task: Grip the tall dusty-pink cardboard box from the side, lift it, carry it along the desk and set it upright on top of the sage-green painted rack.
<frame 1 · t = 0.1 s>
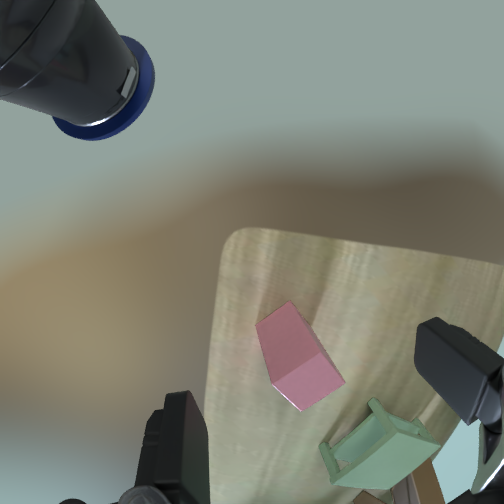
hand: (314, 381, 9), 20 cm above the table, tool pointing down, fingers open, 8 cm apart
photo frame: (384, 477, 44), on the table
rack: (373, 433, 38), on the table
pink box: (284, 326, 31), on the table
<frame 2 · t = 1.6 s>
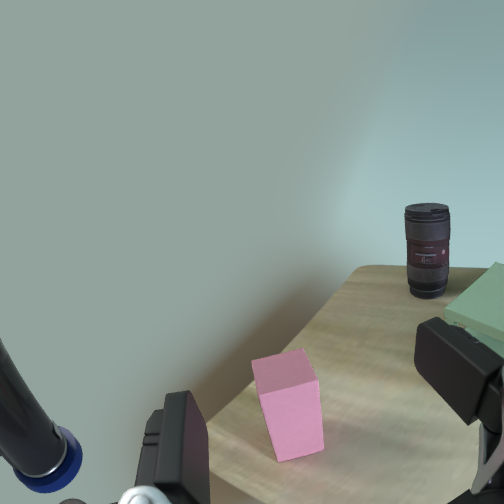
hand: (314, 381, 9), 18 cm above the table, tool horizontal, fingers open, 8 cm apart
rack: (499, 348, 26), on the table
camera lens: (427, 291, 45), on the table
pink box: (296, 440, 24), on the table
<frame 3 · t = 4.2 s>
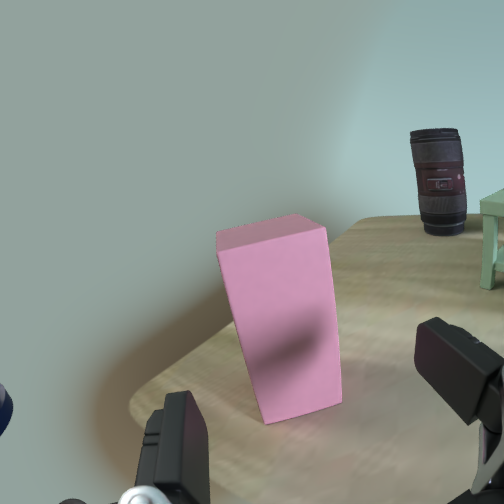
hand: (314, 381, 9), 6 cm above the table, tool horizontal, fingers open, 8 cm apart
camera lens: (444, 231, 37), on the table
pink box: (294, 390, 16), on the table
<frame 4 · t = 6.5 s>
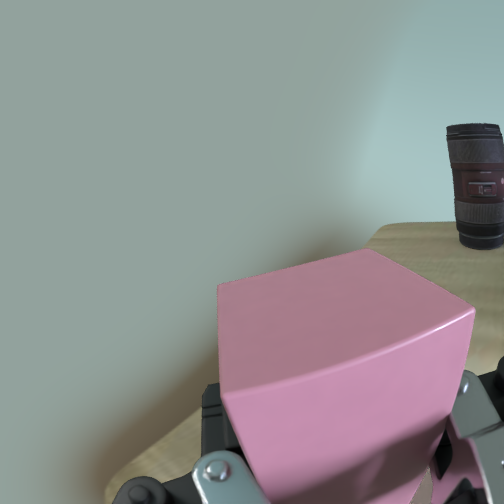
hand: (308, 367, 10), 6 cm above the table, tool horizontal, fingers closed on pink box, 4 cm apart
camera lens: (481, 242, 30), on the table
pink box: (335, 497, 9), on the table, touching gripper
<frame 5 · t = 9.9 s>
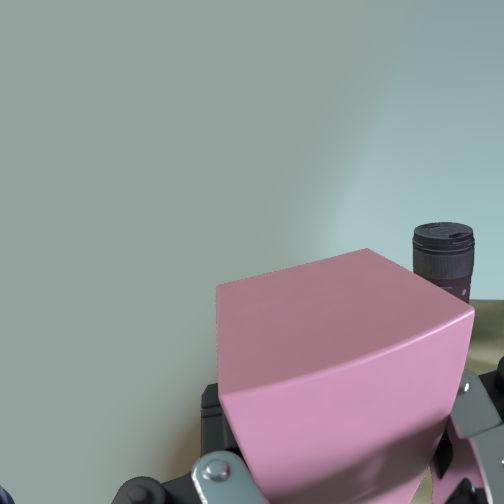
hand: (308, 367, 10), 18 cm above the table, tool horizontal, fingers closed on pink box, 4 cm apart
camera lens: (437, 337, 33), on the table
pink box: (335, 498, 9), point 12 cm above the table, touching gripper
when the fingers open (14 cm above the table, at t = 13.5 s): pink box stays where it is, resting on rack.
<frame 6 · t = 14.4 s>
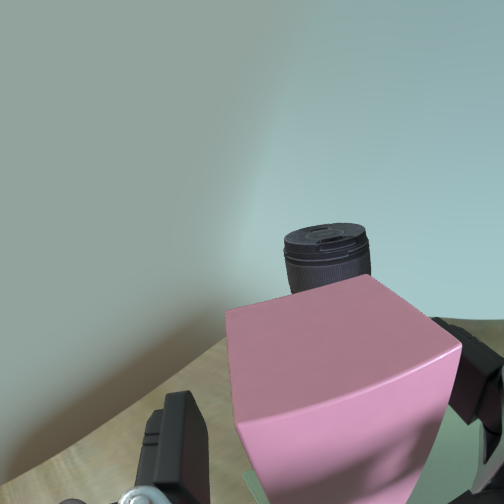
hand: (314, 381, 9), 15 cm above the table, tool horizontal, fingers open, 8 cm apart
camera lens: (338, 362, 31), on the table
pink box: (334, 501, 9), point 8 cm above the table, touching rack
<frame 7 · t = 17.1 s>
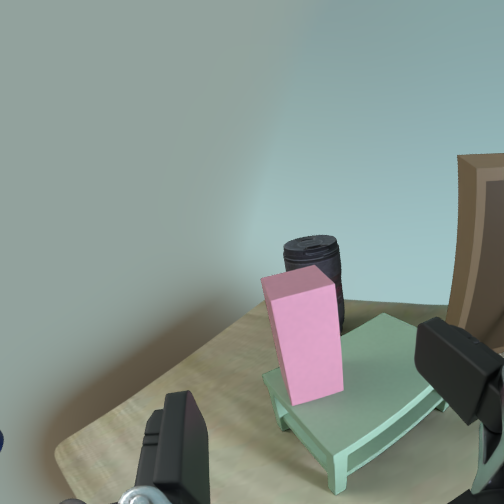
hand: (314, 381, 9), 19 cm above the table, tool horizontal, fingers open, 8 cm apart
rack: (365, 420, 26), on the table
camera lens: (322, 332, 45), on the table
pink box: (311, 382, 24), point 8 cm above the table, touching rack
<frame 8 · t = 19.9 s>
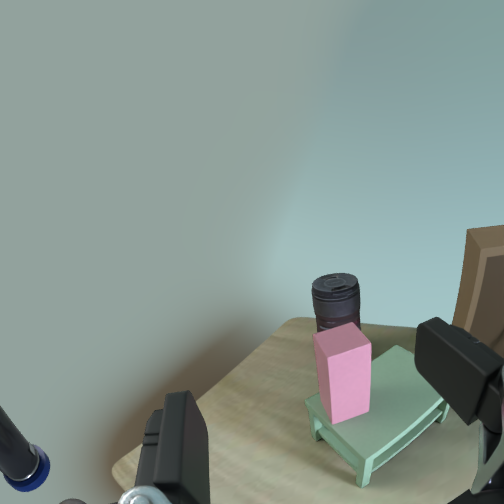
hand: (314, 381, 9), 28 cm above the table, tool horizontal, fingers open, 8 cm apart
rack: (381, 430, 31), on the table
camera lens: (341, 354, 51), on the table
pink box: (344, 406, 29), point 8 cm above the table, touching rack
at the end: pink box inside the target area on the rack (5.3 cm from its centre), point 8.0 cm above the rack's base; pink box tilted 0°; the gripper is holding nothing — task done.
